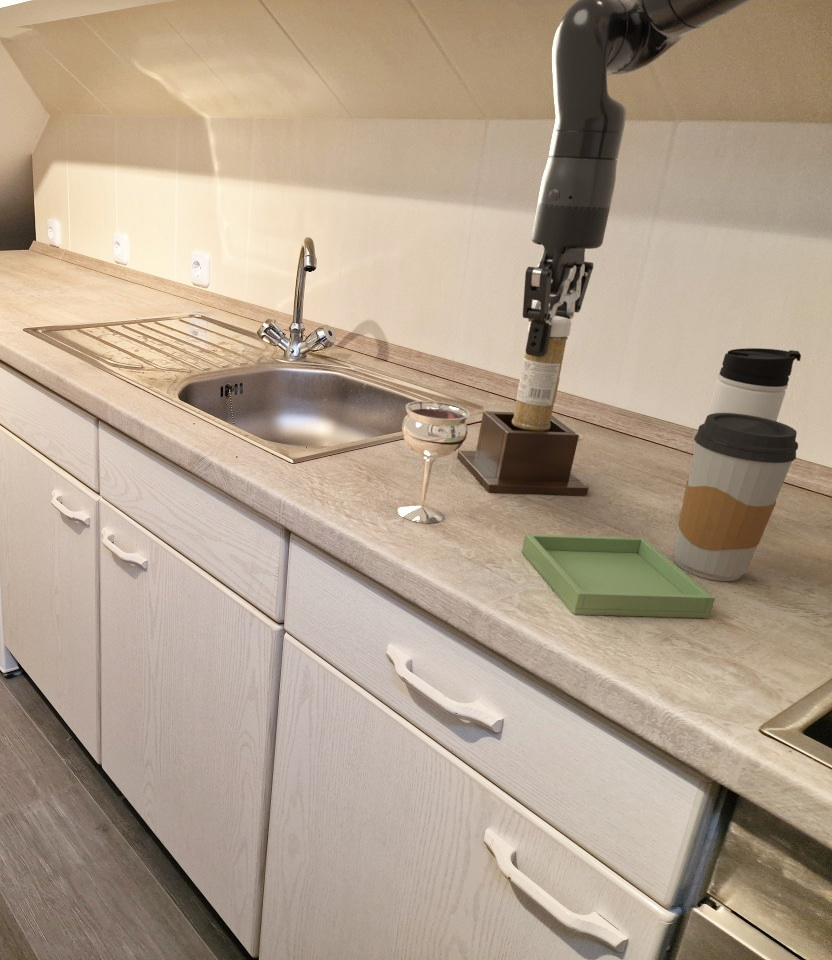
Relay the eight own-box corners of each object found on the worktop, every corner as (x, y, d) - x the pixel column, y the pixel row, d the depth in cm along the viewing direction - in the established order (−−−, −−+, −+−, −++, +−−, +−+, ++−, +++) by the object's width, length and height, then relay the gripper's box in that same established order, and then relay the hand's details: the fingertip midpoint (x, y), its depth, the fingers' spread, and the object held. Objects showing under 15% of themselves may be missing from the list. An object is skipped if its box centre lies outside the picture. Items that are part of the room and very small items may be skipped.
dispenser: (546, 460, 113) (557, 410, 110) (587, 495, 102) (600, 440, 99) (456, 457, 112) (465, 406, 110) (488, 492, 101) (498, 436, 99)
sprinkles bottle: (552, 425, 105) (575, 317, 100) (546, 435, 101) (569, 322, 97) (514, 418, 107) (534, 312, 102) (506, 427, 104) (527, 317, 99)
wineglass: (378, 503, 96) (393, 401, 92) (431, 499, 98) (448, 399, 94) (409, 528, 90) (425, 421, 86) (464, 523, 92) (483, 418, 88)
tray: (639, 556, 87) (644, 537, 86) (708, 618, 75) (715, 597, 75) (521, 552, 86) (525, 533, 86) (573, 614, 75) (578, 593, 74)
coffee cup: (771, 574, 84) (819, 430, 79) (732, 595, 80) (780, 444, 74) (686, 542, 90) (725, 406, 85) (645, 560, 86) (683, 418, 80)
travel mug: (746, 540, 91) (804, 358, 84) (677, 525, 94) (728, 348, 87) (744, 521, 97) (799, 347, 89) (679, 507, 99) (727, 338, 92)
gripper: (583, 205, 88) (551, 367, 94) (631, 203, 97) (598, 350, 103) (513, 200, 92) (487, 354, 99) (565, 198, 102) (538, 339, 108)
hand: (544, 351), depth 101 cm, fingers closed on sprinkles bottle, 4 cm apart
